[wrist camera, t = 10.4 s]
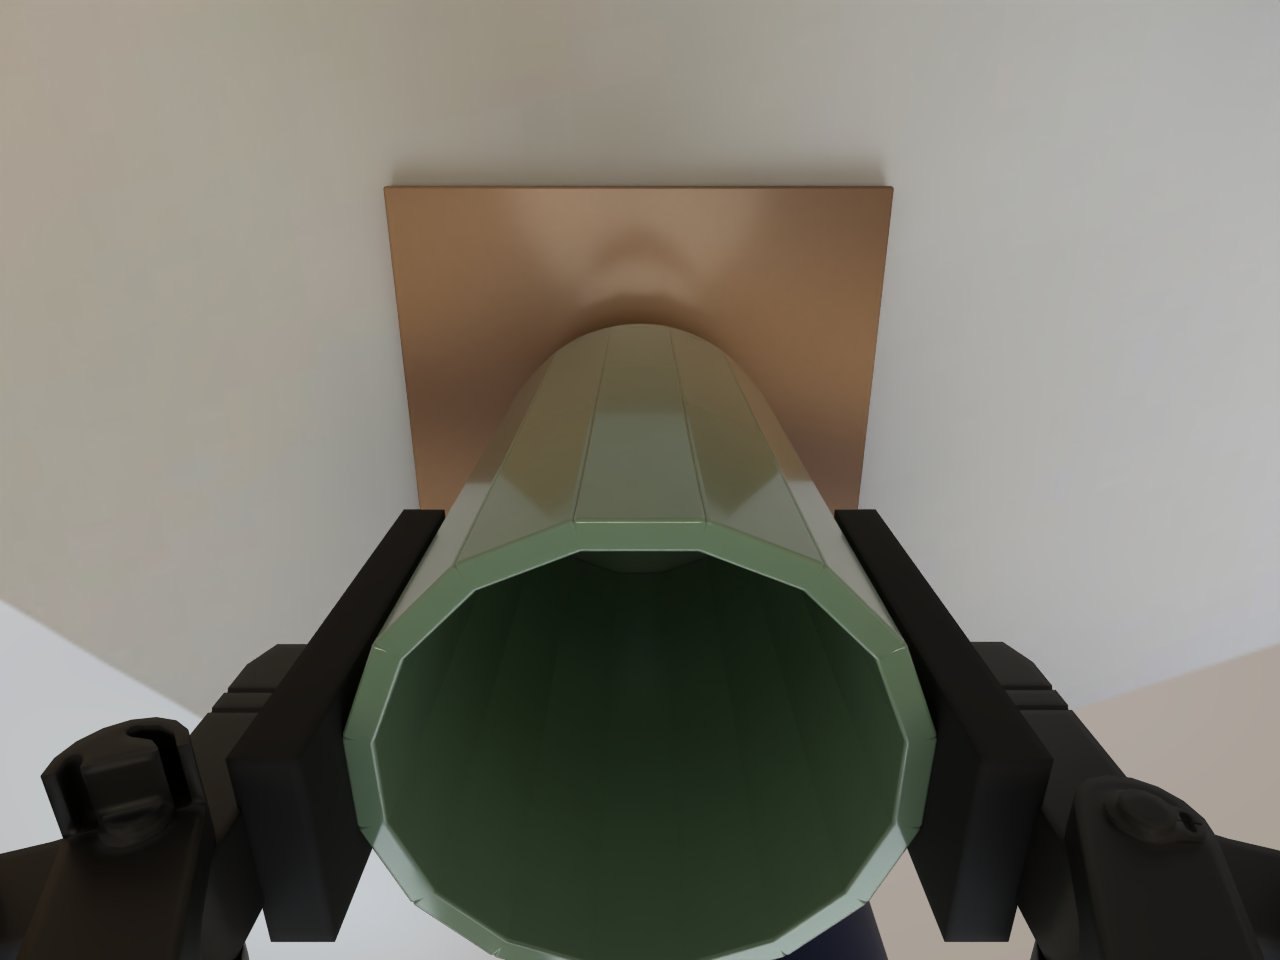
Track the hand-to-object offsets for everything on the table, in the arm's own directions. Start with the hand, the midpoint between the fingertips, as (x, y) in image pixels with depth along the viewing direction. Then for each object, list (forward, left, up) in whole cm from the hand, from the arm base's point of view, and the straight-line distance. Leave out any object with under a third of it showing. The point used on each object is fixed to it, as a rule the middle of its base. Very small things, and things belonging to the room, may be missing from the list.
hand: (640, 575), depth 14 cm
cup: (0, 0, -7) cm, 7 cm away
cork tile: (0, 0, -10) cm, 10 cm away
